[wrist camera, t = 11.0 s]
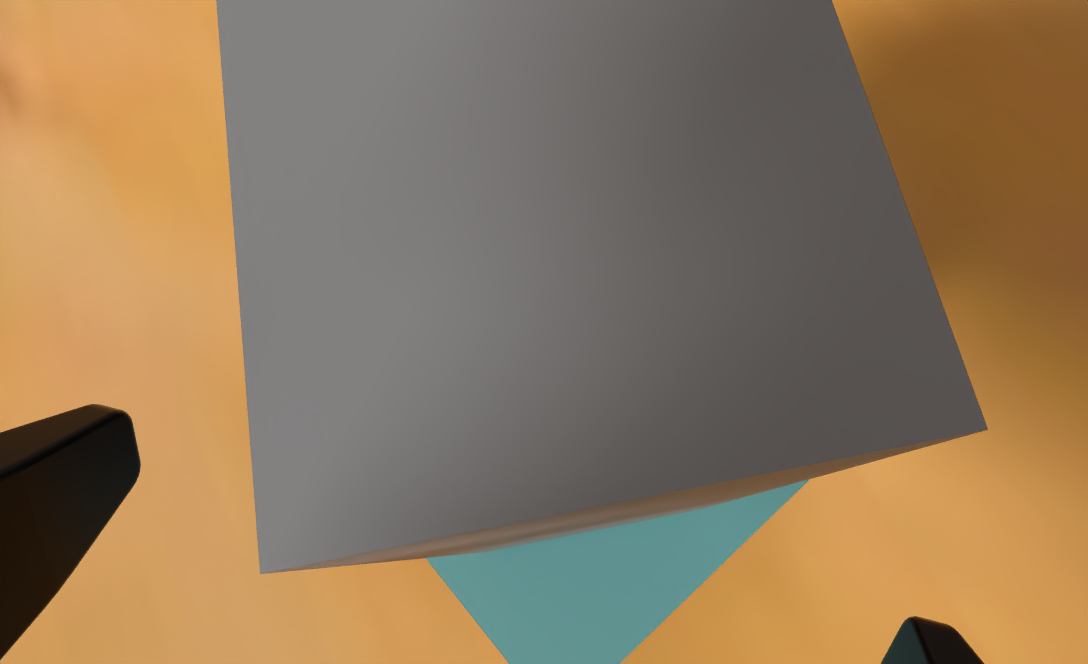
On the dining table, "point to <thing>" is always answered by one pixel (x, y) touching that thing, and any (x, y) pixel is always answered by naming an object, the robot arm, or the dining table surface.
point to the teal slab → (600, 581)
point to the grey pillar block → (562, 268)
